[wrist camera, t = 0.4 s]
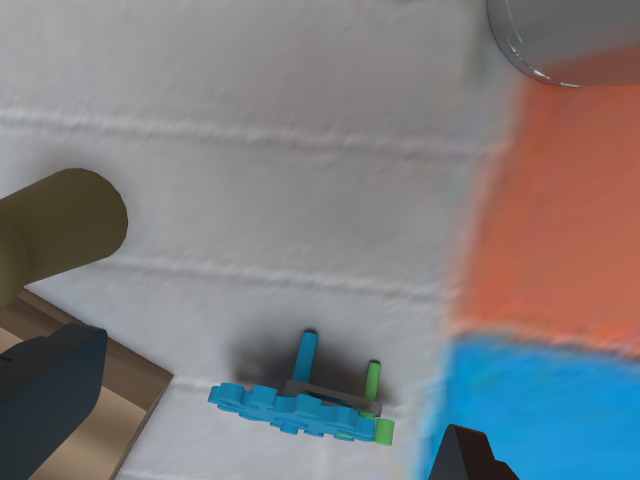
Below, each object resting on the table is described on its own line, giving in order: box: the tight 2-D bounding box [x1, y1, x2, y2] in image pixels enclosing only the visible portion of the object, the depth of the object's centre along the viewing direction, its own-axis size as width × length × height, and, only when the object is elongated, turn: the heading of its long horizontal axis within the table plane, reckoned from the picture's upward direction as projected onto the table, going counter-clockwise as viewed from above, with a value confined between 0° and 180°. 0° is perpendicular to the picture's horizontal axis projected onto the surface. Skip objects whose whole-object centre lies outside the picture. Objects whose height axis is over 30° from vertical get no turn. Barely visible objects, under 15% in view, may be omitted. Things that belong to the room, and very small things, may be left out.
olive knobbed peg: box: [0, 168, 128, 310], centre depth 26 cm, size 6×6×11 cm
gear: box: [208, 332, 394, 446], centre depth 30 cm, size 11×6×10 cm
